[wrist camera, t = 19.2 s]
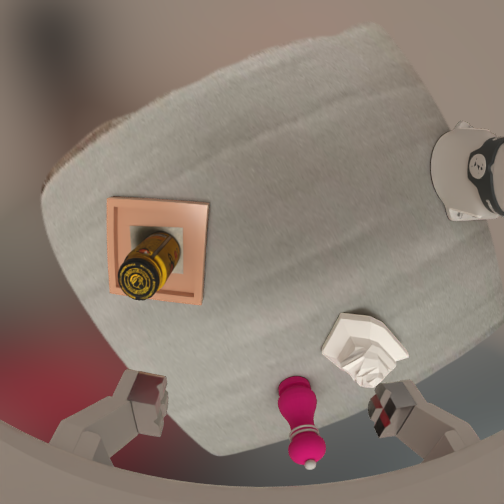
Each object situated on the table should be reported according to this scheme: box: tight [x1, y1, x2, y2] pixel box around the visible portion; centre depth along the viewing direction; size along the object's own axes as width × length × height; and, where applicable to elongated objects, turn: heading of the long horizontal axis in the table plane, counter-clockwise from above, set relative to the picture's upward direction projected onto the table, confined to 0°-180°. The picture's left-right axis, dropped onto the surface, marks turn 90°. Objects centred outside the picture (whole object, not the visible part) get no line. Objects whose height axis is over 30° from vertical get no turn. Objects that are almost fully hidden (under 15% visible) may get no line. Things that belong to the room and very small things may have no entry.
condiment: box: [118, 226, 183, 300], centre depth 38 cm, size 7×8×12 cm
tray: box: [107, 196, 210, 305], centre depth 43 cm, size 15×15×2 cm
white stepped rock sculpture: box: [322, 313, 409, 388], centre depth 45 cm, size 12×15×14 cm
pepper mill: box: [278, 376, 326, 470], centre depth 44 cm, size 7×7×20 cm
